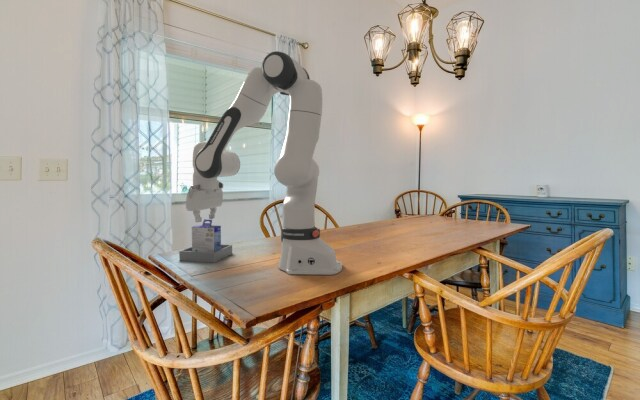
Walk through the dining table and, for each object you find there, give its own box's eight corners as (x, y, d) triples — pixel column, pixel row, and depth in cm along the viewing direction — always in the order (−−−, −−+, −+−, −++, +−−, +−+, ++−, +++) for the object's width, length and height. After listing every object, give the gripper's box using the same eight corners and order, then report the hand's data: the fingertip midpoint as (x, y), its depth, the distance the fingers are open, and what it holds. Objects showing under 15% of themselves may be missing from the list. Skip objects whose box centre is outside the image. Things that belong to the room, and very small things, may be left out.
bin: (232, 253, 136) (232, 245, 136) (214, 262, 122) (213, 253, 122) (200, 251, 139) (200, 243, 139) (179, 260, 125) (179, 251, 125)
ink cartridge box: (222, 255, 132) (221, 219, 131) (215, 259, 127) (214, 221, 126) (199, 254, 134) (198, 218, 133) (191, 257, 129) (190, 220, 128)
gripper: (197, 185, 117) (197, 224, 119) (225, 183, 137) (225, 217, 139) (181, 185, 119) (181, 223, 120) (211, 183, 139) (211, 216, 140)
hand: (205, 220), depth 129 cm, fingers open, 8 cm apart
